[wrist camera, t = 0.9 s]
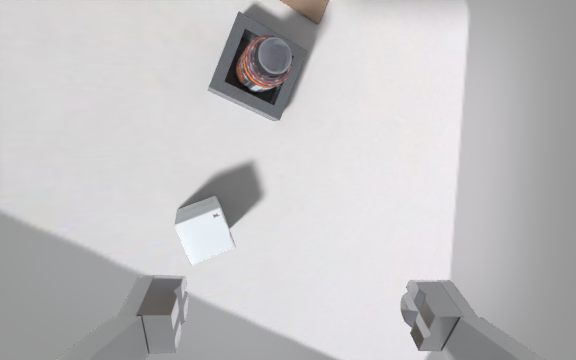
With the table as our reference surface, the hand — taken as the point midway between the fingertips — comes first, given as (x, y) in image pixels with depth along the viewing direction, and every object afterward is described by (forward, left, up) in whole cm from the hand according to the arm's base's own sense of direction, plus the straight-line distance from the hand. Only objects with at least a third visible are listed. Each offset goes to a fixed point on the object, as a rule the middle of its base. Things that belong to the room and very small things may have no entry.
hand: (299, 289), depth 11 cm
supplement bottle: (0, +15, -35) cm, 38 cm away
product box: (+1, -8, -35) cm, 36 cm away
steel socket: (0, +15, -35) cm, 38 cm away
